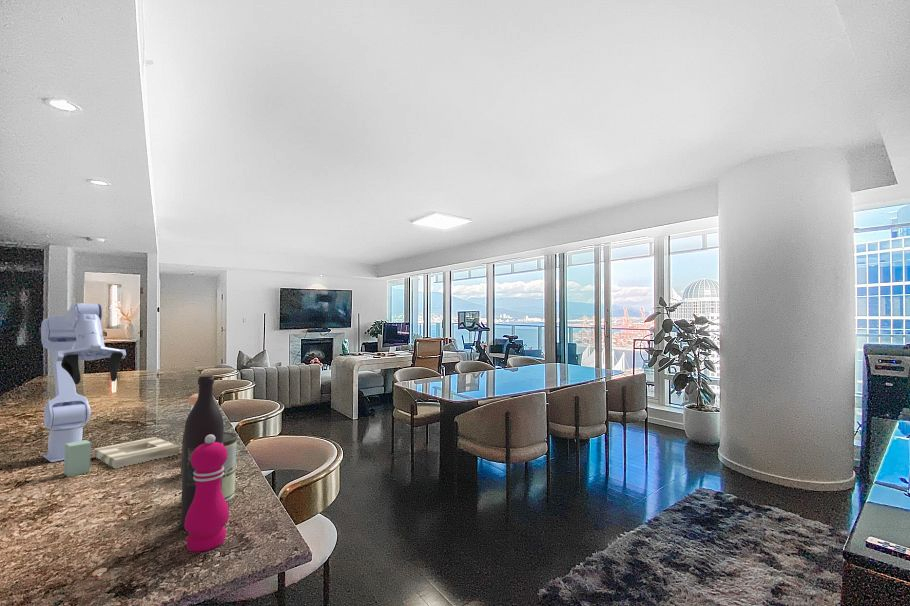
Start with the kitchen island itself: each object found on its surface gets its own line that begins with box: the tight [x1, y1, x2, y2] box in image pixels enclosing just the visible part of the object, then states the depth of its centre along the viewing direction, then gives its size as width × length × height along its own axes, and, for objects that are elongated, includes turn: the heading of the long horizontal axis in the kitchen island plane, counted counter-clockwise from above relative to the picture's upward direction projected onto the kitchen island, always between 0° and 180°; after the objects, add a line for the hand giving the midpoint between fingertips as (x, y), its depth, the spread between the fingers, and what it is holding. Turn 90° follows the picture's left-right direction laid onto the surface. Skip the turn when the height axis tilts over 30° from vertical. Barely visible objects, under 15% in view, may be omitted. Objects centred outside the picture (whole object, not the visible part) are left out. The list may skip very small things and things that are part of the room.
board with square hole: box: [93, 436, 180, 470], centre depth 127 cm, size 18×16×2 cm
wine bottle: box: [180, 374, 225, 531], centre depth 85 cm, size 7×7×30 cm
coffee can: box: [222, 431, 238, 503], centre depth 97 cm, size 10×10×14 cm
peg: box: [63, 439, 92, 478], centre depth 113 cm, size 4×4×8 cm
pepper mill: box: [184, 434, 230, 553], centre depth 78 cm, size 7×7×20 cm
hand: (96, 380), depth 111 cm, fingers open, 7 cm apart
